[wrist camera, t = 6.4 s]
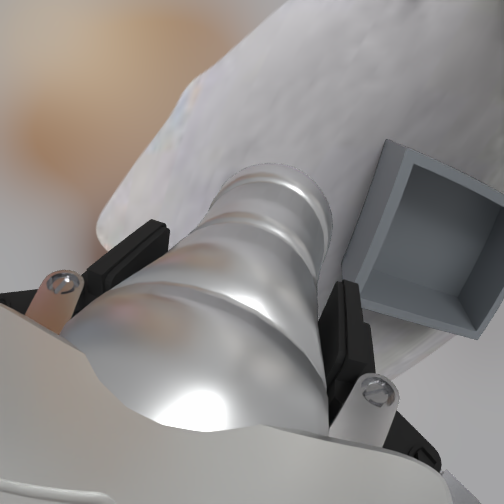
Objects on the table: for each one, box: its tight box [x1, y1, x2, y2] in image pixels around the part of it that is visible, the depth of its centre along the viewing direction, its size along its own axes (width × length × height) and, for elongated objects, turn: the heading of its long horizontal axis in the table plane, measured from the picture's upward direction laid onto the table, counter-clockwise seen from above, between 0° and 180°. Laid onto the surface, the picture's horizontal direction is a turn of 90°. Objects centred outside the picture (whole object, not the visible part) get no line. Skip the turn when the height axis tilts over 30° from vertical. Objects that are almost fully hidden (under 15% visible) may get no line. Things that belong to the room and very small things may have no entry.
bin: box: [341, 139, 504, 340], centre depth 28 cm, size 15×17×8 cm
